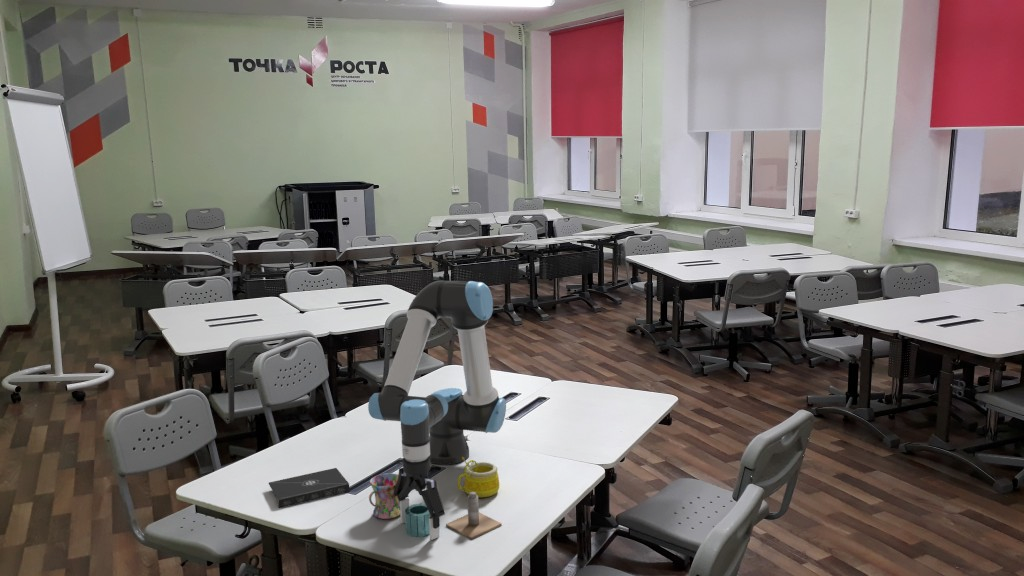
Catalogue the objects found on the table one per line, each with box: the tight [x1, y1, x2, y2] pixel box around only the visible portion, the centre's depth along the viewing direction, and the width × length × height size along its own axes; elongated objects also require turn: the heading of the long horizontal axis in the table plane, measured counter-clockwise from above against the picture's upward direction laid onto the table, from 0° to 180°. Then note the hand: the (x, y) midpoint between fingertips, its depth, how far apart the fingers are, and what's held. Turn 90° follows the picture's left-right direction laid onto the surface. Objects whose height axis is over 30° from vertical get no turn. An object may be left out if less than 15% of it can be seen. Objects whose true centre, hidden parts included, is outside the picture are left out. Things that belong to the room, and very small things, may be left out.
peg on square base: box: [445, 492, 503, 541], centre depth 213 cm, size 11×11×10 cm
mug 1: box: [368, 472, 400, 520], centre depth 220 cm, size 12×9×11 cm
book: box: [268, 467, 351, 509], centre depth 239 cm, size 22×15×3 cm
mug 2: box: [457, 457, 500, 499], centre depth 234 cm, size 13×11×12 cm
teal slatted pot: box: [405, 503, 431, 538], centre depth 212 cm, size 8×8×6 cm
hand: (419, 529), depth 212 cm, fingers open, 13 cm apart
